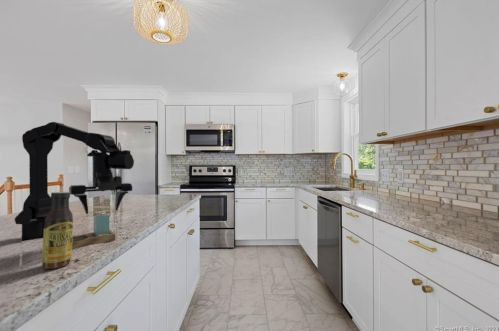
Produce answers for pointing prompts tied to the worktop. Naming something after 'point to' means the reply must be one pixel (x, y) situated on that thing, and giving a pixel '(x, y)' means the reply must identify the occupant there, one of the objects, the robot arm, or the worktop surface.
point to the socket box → (91, 239)
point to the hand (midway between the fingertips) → (102, 212)
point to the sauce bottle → (58, 233)
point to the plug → (101, 225)
